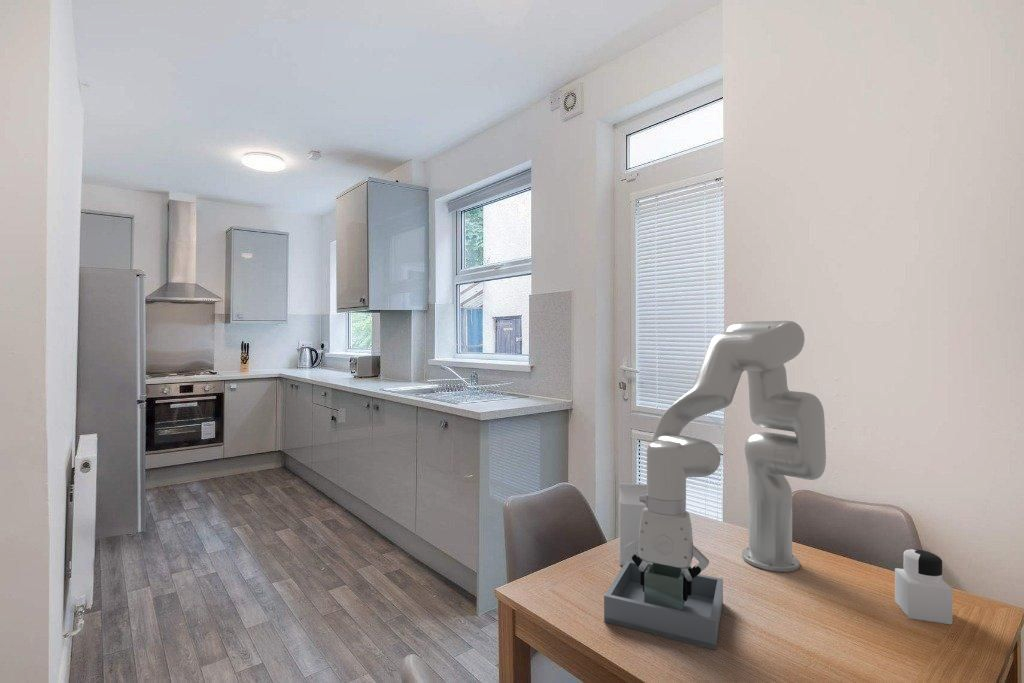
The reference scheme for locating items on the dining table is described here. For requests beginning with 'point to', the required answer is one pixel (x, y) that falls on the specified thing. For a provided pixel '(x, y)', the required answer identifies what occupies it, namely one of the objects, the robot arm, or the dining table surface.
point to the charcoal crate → (666, 609)
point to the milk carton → (630, 516)
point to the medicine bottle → (923, 588)
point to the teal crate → (664, 586)
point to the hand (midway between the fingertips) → (665, 592)
